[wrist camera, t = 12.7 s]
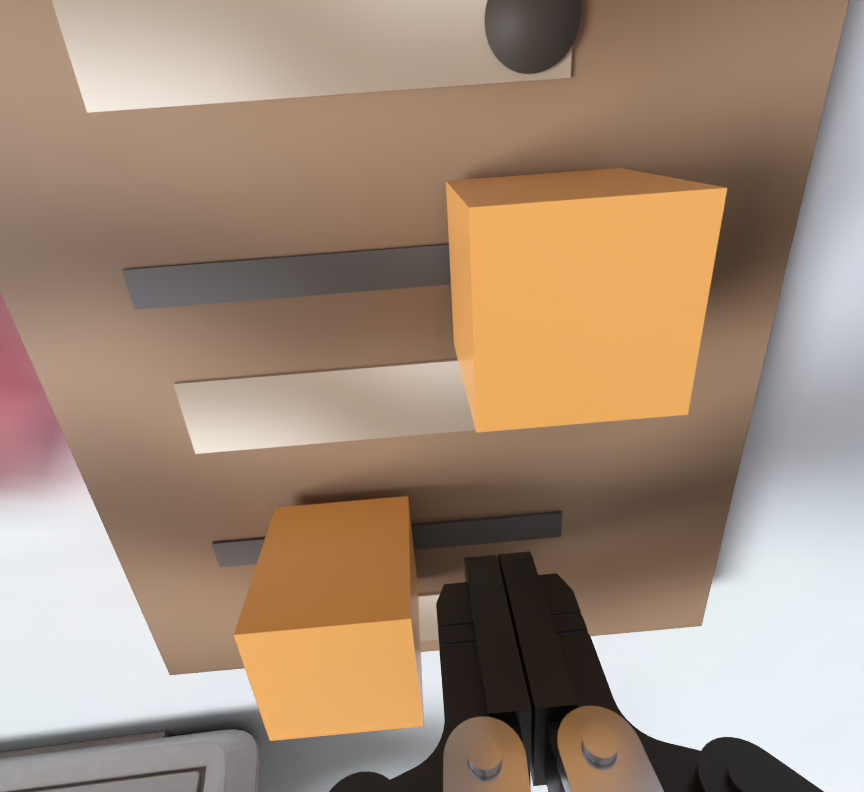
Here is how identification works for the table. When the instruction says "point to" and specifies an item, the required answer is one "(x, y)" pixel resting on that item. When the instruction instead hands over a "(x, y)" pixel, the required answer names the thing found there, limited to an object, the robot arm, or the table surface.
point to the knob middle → (579, 294)
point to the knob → (335, 621)
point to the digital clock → (137, 764)
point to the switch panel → (377, 274)
